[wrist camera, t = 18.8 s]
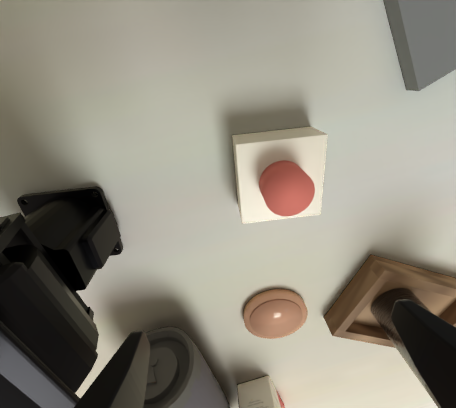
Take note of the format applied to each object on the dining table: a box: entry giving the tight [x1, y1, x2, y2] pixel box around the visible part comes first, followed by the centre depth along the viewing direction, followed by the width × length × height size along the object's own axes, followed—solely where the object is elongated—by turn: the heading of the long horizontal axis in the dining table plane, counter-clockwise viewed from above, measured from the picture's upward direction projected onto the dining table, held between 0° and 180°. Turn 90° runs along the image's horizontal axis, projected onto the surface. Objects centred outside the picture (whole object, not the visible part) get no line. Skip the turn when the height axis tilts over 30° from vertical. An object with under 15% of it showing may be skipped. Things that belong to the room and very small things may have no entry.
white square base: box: [232, 127, 328, 224], centre depth 19 cm, size 6×6×3 cm
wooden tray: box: [324, 255, 456, 348], centre depth 27 cm, size 14×10×2 cm
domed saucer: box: [243, 289, 307, 339], centre depth 27 cm, size 7×7×1 cm
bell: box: [371, 288, 441, 408], centre depth 21 cm, size 5×5×14 cm
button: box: [259, 160, 315, 216], centre depth 16 cm, size 3×3×2 cm
